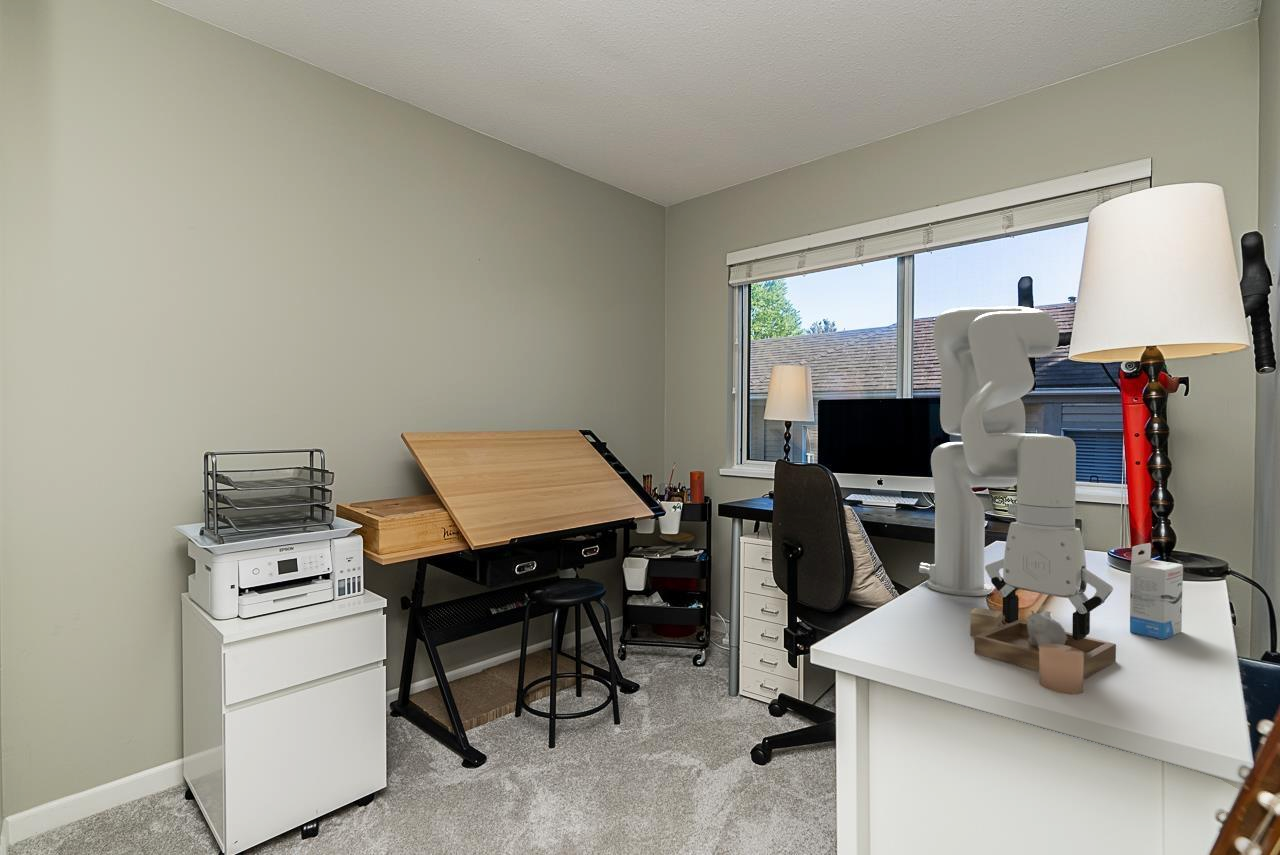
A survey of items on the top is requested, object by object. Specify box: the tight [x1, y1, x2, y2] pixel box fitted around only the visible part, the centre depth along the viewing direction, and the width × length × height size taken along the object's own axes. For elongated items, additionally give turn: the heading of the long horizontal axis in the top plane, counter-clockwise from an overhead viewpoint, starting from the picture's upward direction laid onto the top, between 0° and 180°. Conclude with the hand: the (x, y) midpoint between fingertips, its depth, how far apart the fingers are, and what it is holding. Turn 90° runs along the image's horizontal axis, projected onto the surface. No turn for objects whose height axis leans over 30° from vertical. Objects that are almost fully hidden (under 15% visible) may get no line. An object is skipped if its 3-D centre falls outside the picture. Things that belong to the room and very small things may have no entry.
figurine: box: [1026, 610, 1069, 647], centre depth 97 cm, size 8×6×8 cm
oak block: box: [969, 607, 1003, 638], centre depth 106 cm, size 4×4×4 cm
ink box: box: [1129, 542, 1184, 640], centre depth 108 cm, size 8×5×15 cm, turn 123°
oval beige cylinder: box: [1038, 643, 1084, 695], centre depth 85 cm, size 5×5×5 cm
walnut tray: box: [973, 619, 1117, 681], centre depth 96 cm, size 14×14×3 cm
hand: (1044, 629), depth 96 cm, fingers open, 9 cm apart
